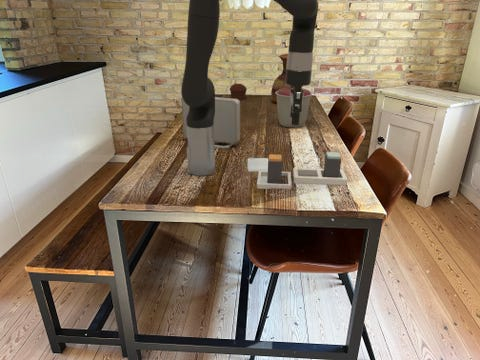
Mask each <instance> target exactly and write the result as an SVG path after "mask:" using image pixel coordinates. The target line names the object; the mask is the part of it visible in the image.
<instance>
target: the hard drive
mask: <svg viewBox="0 0 480 360" xmlns="http://www.w3.org/2000/svg"><path fill="white" fill-rule="evenodd" d="M246 160H247V172H248V173H259V171H268V157H264V158H263V157H262V158H261V157H255V158H254V157H248V158H247V159H246Z"/></svg>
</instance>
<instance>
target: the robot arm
mask: <svg viewBox="0 0 480 360" xmlns="http://www.w3.org/2000/svg"><path fill="white" fill-rule="evenodd" d="M272 1H273V2H274V3H277V4H278V5H279V6H280V7H281V8H283V9H284V10H285V11H286V12H287V13H289V14H290V15H291V16H292V29H291V32H290V34H289V39H288V40H289V41H288V52H287V54H288V57H287V66H286V80H285V82H286V84H288V85H292V89H290V101H291V103H290V104H291V113H290V117H291V118H292V125H299V117H300V113H301V111H302V110H301V108H302V104H303V96H304V92H303V90H302V88H303V87H306V86H309V85H311V80H312V79H311V78H312V70H313V60H314V59H313V52H314V44H315V42H314V41H315V29H316V24H317V19H318V12H319V1H318V0H272ZM188 4H189V5H188V11H187V12H188V15H187V28H186V29H187V31H186V32H187V34H186V51H185V53H186V54H185V64H184V65H185V66H184V72H183V77H182V83H181V90H180V91H181V99H182V98H183V100H184V102H185V103H186V104H187V105H188V106H189V112H188V115H187V118H186V123H187V137H188V138H187V137H186V138H187V147H186V160H187V172H188V174H192V176H193V175H194V176H199V177H200V176H208V175H212V174H214V173H215V172H216V151H215V148H216V147H214V145H215V144H214V116H215V97H216V90H215V85H214V83H213V80H211V78H209V77H208V76H209V74H208V73H209V66H210V61H211V58H212V53H213V52H214V49H215V45H216V42H217V38H218V33H219V26H220V25H219V23H220V16H221V14H220V13H221V12H220V10H221V9H220V7H221V6H220V0H189V3H188ZM298 106H299V108H298Z"/></svg>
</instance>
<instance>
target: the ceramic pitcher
mask: <svg viewBox="0 0 480 360" xmlns="http://www.w3.org/2000/svg"><path fill="white" fill-rule="evenodd" d="M278 57H279V59H280V60H281V61H282V72H281V74H279V75H278V76H277V77H276V78H275V80H274V81H273V83H272V86H271V92H270V93H271V99H272V100H273V101H274V102H276V103H277V95H276V93H275V92H276V91H278V90H279V89H282V88H291V85H288V84H286V82H285V80H286V66H287V57H288V53H283V54H281V55H279V56H278Z"/></svg>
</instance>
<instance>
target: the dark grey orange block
mask: <svg viewBox="0 0 480 360" xmlns="http://www.w3.org/2000/svg"><path fill="white" fill-rule="evenodd" d="M267 158H268V177H267V183H272V184H282V176H281V175H282V172H283V171H282V170H283V156H282V154H271V153H270V154H269V155H268V157H267Z"/></svg>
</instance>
